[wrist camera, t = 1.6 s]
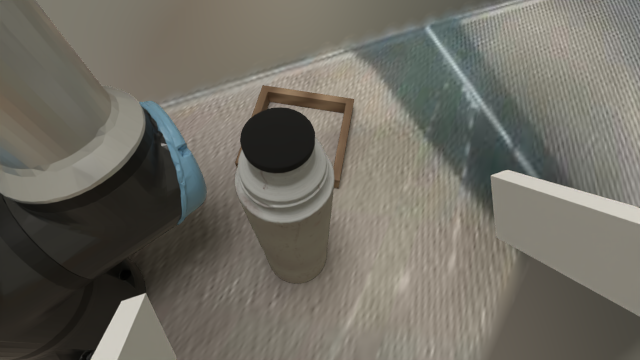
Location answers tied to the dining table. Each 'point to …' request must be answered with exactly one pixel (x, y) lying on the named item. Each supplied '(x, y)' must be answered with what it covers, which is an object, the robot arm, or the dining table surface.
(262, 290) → the dining table surface
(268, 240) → the thermos bottle
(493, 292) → the dining table surface
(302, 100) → the walnut square frame
